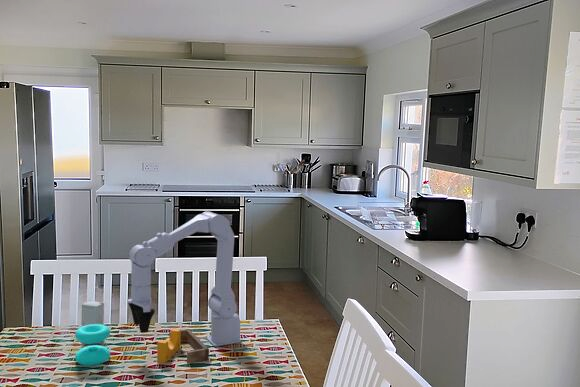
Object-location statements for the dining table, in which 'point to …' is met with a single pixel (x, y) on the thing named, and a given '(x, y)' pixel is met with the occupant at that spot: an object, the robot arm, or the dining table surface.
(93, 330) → the donuts
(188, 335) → the bracket
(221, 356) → the dining table surface
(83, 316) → the skincare box
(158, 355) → the pipe clamp
